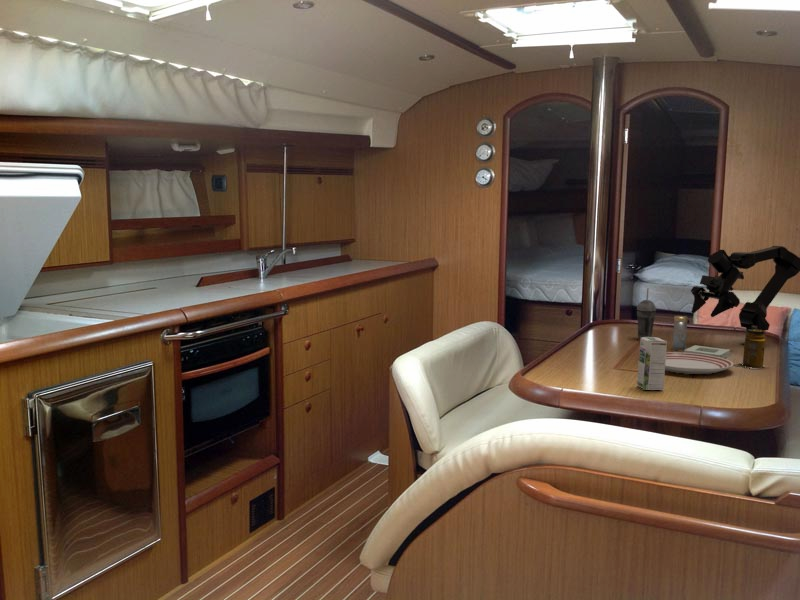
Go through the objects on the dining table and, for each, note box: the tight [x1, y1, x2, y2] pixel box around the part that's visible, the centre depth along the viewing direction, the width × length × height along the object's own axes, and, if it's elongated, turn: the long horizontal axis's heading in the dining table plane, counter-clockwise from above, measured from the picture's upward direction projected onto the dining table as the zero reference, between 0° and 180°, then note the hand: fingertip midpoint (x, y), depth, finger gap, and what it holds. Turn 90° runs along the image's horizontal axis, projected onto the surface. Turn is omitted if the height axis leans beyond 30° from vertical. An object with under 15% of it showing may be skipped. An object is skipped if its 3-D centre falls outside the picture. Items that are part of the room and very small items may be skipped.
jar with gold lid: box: [671, 315, 688, 351], centre depth 266 cm, size 4×4×12 cm
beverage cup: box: [636, 288, 657, 341], centre depth 282 cm, size 7×7×20 cm
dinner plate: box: [665, 351, 734, 375], centre depth 236 cm, size 27×27×3 cm
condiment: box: [733, 329, 769, 370], centre depth 240 cm, size 7×8×12 cm
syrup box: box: [636, 336, 668, 391], centre depth 209 cm, size 6×6×14 cm
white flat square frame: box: [683, 344, 731, 359], centre depth 256 cm, size 12×12×2 cm
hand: (701, 314), depth 266 cm, fingers open, 9 cm apart
